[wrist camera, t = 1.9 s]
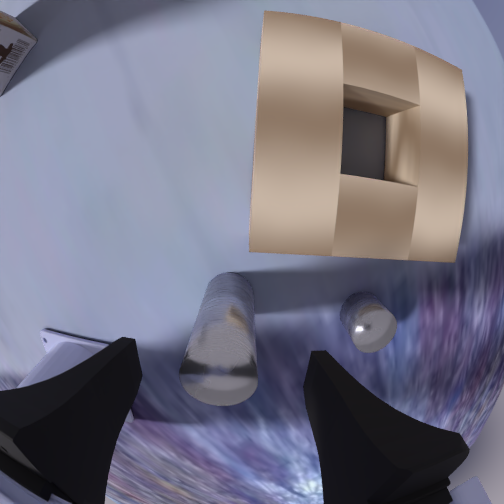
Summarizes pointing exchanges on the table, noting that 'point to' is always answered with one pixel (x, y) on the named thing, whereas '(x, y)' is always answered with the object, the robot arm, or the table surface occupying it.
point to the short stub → (368, 322)
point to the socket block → (330, 145)
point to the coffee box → (12, 47)
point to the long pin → (222, 344)
